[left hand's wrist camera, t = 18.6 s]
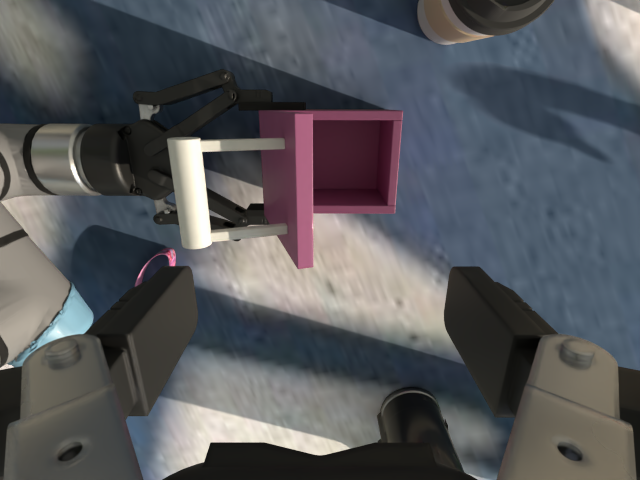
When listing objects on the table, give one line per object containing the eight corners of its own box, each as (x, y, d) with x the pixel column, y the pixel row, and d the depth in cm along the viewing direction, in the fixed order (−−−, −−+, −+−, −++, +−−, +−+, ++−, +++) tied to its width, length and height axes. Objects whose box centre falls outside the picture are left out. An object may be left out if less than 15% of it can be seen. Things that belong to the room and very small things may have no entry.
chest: (386, 109, 42) (403, 110, 34) (381, 194, 46) (395, 213, 38) (276, 109, 42) (265, 110, 34) (279, 193, 46) (270, 213, 38)
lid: (313, 113, 22) (158, 113, 19) (313, 267, 25) (183, 284, 23) (270, 110, 34) (173, 110, 31) (275, 214, 37) (188, 222, 35)
